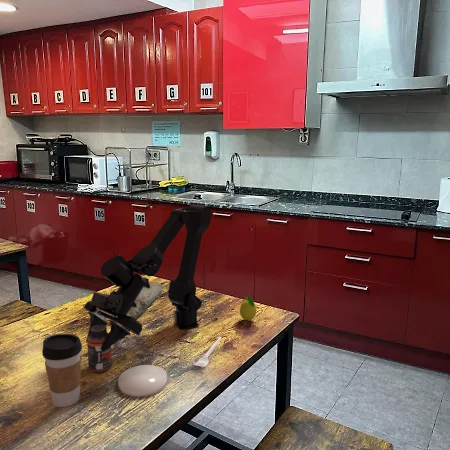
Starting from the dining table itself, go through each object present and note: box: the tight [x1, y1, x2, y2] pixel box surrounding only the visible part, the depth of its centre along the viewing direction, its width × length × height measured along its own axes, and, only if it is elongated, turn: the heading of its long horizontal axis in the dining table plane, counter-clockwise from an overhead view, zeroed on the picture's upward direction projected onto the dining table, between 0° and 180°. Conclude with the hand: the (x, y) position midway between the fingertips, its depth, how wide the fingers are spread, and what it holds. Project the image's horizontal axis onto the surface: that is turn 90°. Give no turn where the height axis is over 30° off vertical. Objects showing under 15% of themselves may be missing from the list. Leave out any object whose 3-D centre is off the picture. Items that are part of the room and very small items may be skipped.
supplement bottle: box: [86, 325, 113, 373], centre depth 109 cm, size 6×6×11 cm
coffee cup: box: [41, 333, 83, 408], centre depth 95 cm, size 8×8×15 cm
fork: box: [192, 336, 223, 368], centre depth 118 cm, size 3×20×2 cm, turn 162°
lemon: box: [239, 292, 257, 322], centre depth 138 cm, size 7×6×10 cm
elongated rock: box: [114, 282, 164, 324], centre depth 151 cm, size 35×5×10 cm
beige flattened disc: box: [117, 364, 168, 398], centre depth 104 cm, size 12×12×1 cm
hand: (94, 346), depth 108 cm, fingers closed on supplement bottle, 6 cm apart
